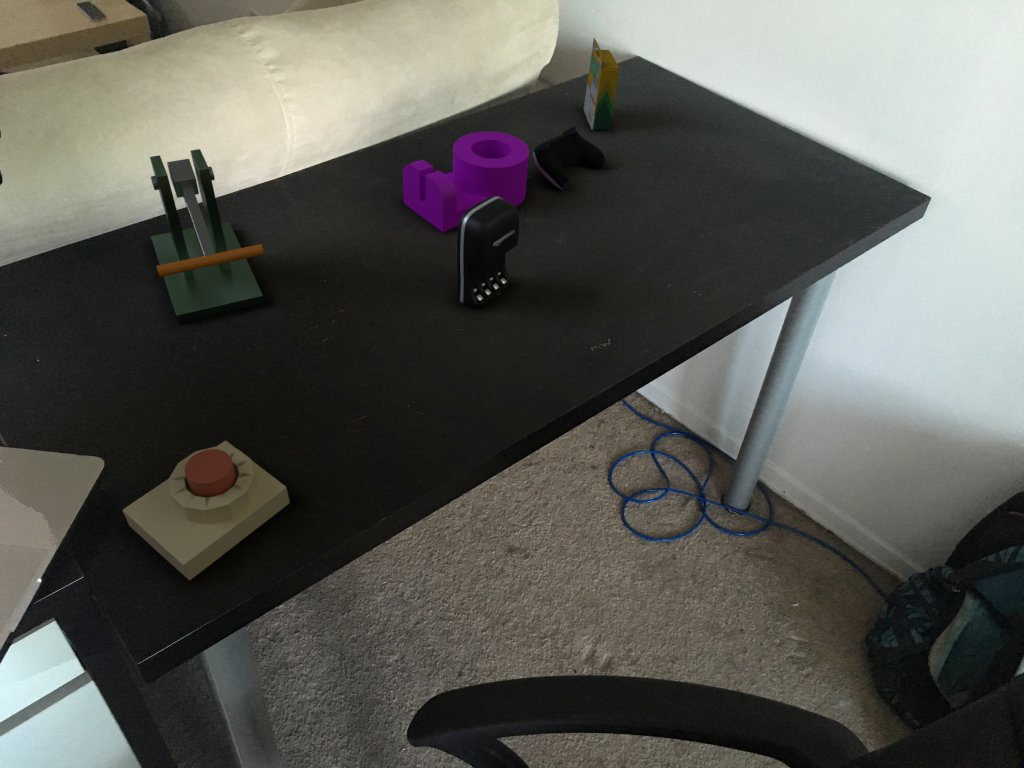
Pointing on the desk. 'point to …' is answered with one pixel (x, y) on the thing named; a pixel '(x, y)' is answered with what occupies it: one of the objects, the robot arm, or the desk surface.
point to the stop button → (210, 472)
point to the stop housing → (205, 513)
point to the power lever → (199, 225)
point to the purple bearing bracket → (468, 178)
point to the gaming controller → (565, 156)
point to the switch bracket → (201, 254)
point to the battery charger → (485, 250)
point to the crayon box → (600, 88)
